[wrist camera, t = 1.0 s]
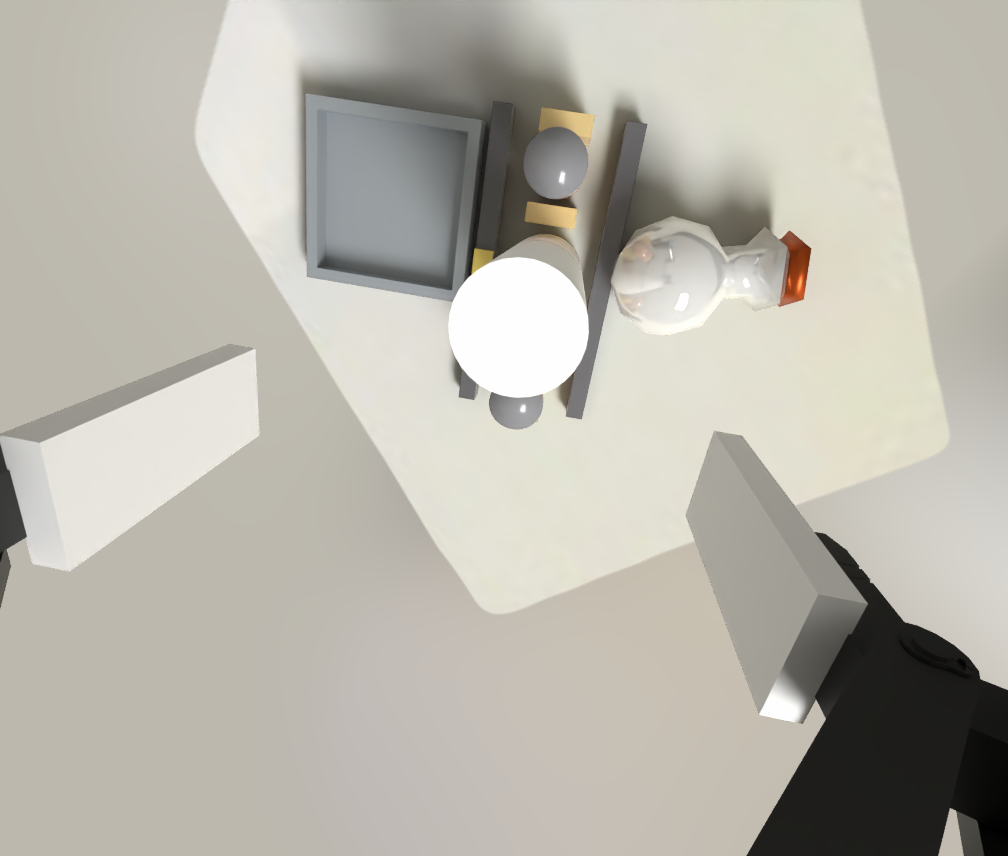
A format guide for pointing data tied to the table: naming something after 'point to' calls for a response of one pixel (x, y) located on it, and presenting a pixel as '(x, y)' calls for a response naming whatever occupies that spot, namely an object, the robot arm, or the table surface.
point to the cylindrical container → (522, 319)
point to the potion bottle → (702, 274)
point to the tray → (391, 196)
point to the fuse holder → (559, 223)
